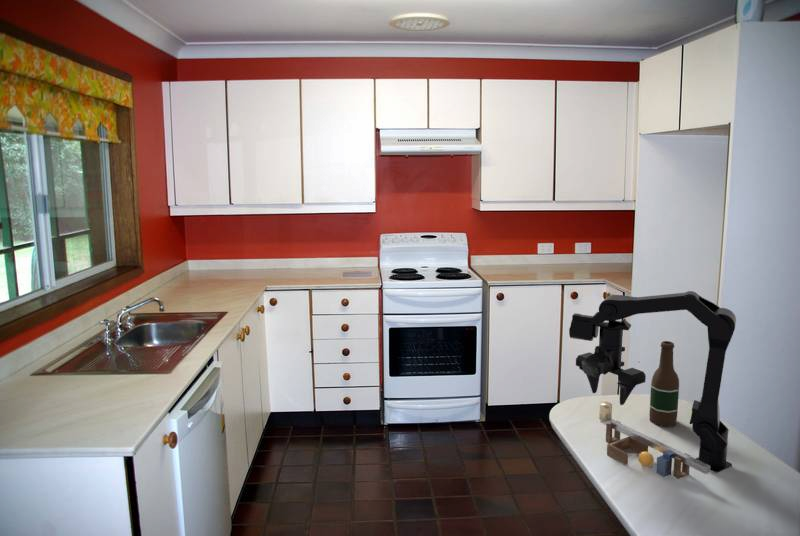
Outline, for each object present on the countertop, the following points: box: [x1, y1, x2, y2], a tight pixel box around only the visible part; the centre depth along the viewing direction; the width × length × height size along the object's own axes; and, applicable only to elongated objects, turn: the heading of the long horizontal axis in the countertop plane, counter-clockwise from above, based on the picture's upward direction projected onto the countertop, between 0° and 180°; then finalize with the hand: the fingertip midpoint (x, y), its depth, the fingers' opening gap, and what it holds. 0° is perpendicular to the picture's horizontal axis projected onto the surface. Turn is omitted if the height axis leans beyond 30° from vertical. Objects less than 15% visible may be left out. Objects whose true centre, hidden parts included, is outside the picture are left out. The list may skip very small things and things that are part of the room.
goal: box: [606, 436, 649, 466], centre depth 153 cm, size 8×6×3 cm
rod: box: [598, 401, 711, 478], centre depth 150 cm, size 6×32×9 cm, turn 29°
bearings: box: [605, 420, 691, 480], centre depth 152 cm, size 4×22×5 cm, turn 29°
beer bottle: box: [649, 340, 680, 428], centre depth 169 cm, size 8×8×24 cm
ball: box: [637, 451, 655, 468], centre depth 148 cm, size 4×4×4 cm
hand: (607, 398), depth 158 cm, fingers open, 9 cm apart
